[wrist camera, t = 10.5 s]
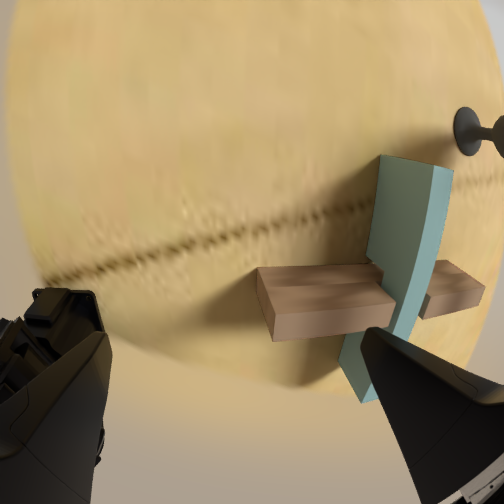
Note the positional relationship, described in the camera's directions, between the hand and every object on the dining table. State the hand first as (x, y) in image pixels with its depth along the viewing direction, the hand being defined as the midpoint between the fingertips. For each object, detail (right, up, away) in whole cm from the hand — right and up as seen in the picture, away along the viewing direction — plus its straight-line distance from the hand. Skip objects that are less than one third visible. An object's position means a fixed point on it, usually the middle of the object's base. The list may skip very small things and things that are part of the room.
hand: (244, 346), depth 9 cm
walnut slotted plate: (+11, +1, +14) cm, 17 cm away
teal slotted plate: (+10, +1, +14) cm, 17 cm away
